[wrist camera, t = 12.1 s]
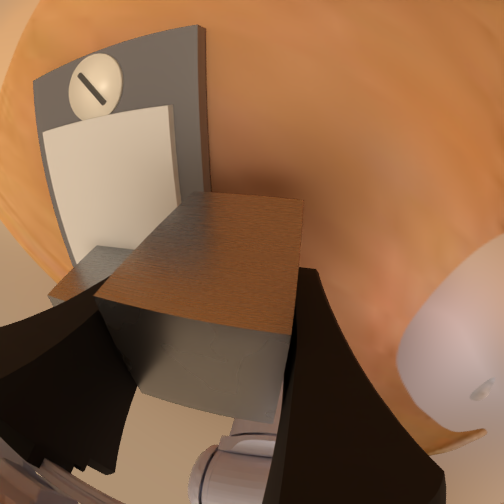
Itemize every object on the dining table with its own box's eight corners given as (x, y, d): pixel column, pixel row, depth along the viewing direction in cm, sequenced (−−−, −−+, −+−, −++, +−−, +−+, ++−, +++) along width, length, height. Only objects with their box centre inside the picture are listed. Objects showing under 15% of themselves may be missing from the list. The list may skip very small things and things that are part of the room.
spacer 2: (293, 290, 12) (272, 424, 7) (201, 277, 12) (141, 392, 7) (303, 200, 9) (291, 335, 4) (193, 191, 10) (93, 296, 5)
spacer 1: (150, 294, 20) (112, 353, 15) (111, 286, 21) (71, 337, 16) (138, 249, 18) (88, 308, 13) (96, 245, 19) (47, 295, 14)
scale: (222, 318, 23) (216, 334, 21) (93, 291, 25) (83, 303, 23) (205, 28, 11) (193, 22, 10) (44, 78, 13) (27, 82, 12)
